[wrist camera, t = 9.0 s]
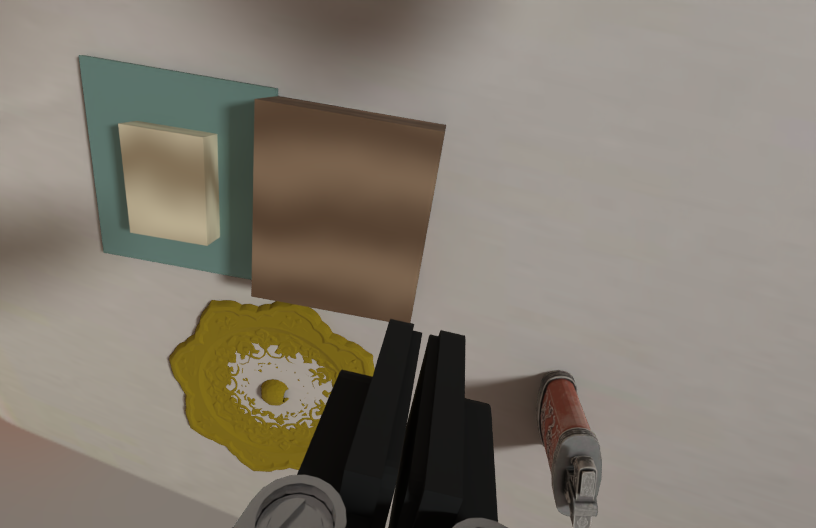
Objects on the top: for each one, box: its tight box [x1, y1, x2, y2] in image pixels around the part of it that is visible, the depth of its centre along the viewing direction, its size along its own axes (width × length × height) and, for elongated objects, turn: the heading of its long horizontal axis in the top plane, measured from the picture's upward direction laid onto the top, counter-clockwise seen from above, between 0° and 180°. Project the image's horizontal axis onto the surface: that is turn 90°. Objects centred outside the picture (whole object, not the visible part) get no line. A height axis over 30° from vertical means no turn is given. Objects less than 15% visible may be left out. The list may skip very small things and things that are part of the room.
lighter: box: [536, 370, 602, 528], centre depth 35 cm, size 8×3×10 cm, turn 4°
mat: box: [79, 55, 278, 280], centre depth 34 cm, size 15×14×1 cm
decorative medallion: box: [169, 300, 375, 472], centre depth 42 cm, size 20×20×1 cm
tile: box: [118, 121, 220, 246], centre depth 33 cm, size 8×6×2 cm
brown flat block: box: [251, 96, 446, 323], centre depth 32 cm, size 14×12×4 cm
